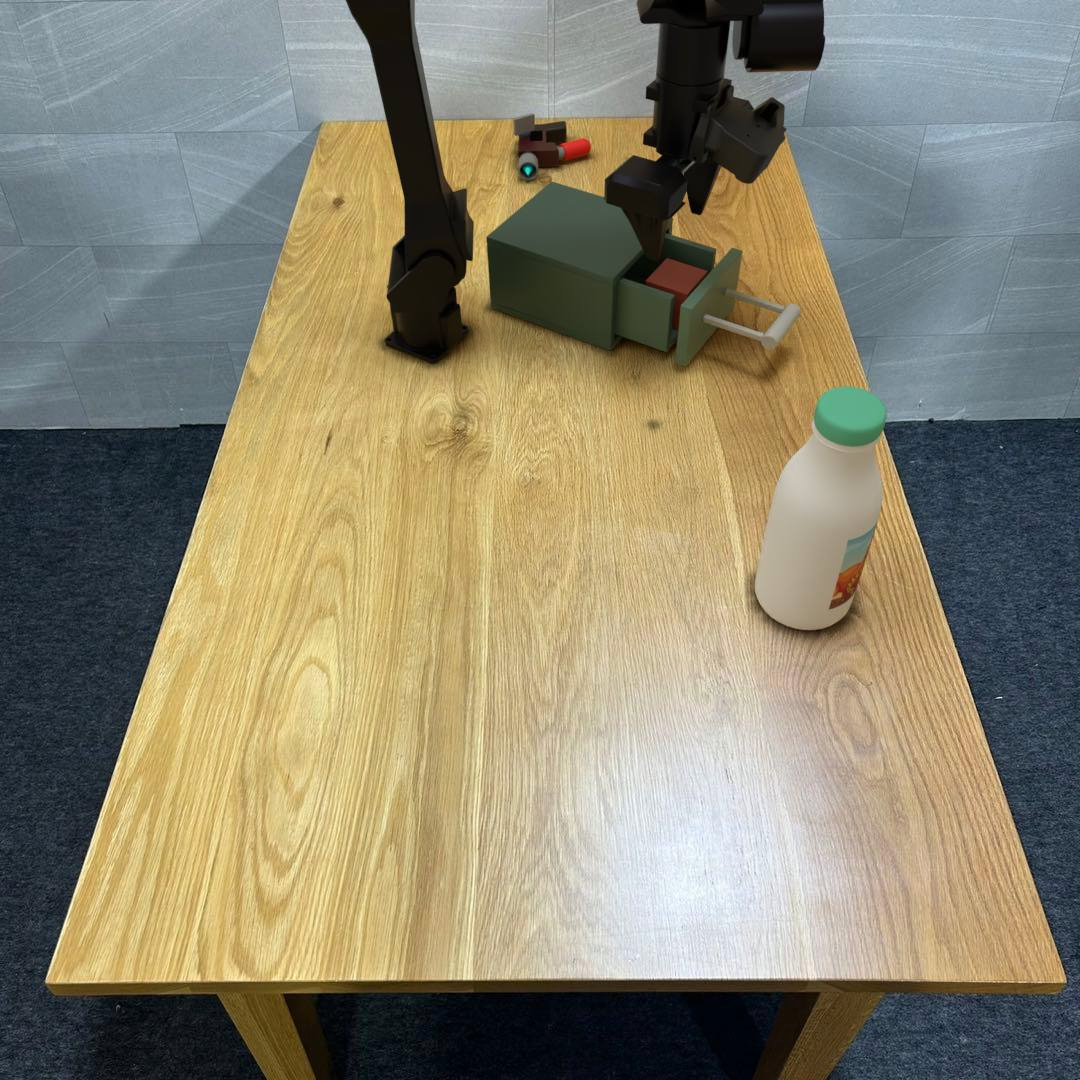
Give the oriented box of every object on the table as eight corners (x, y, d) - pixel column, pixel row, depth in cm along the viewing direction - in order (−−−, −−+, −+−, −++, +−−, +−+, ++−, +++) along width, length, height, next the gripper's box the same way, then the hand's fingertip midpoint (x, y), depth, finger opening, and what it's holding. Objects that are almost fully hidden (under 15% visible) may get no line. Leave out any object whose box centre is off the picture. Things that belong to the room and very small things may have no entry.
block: (642, 319, 105) (645, 280, 102) (663, 296, 108) (666, 257, 104) (683, 333, 103) (687, 294, 100) (703, 309, 106) (708, 270, 102)
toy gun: (514, 185, 127) (513, 147, 123) (514, 138, 135) (513, 101, 131) (593, 183, 127) (594, 145, 123) (588, 136, 135) (589, 99, 131)
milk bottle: (791, 648, 80) (843, 460, 65) (734, 580, 84) (770, 390, 70) (870, 610, 82) (938, 421, 67) (810, 546, 87) (861, 356, 72)
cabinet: (667, 289, 112) (673, 217, 105) (610, 351, 105) (613, 278, 98) (552, 251, 117) (551, 180, 111) (490, 308, 110) (485, 236, 104)
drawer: (805, 330, 105) (817, 272, 100) (759, 393, 99) (769, 335, 94) (621, 270, 113) (623, 214, 108) (567, 324, 106) (567, 267, 101)
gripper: (731, 141, 79) (709, 311, 90) (822, 50, 89) (792, 213, 101) (603, 107, 83) (598, 274, 95) (705, 24, 93) (689, 184, 105)
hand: (675, 235), depth 99 cm, fingers open, 9 cm apart
